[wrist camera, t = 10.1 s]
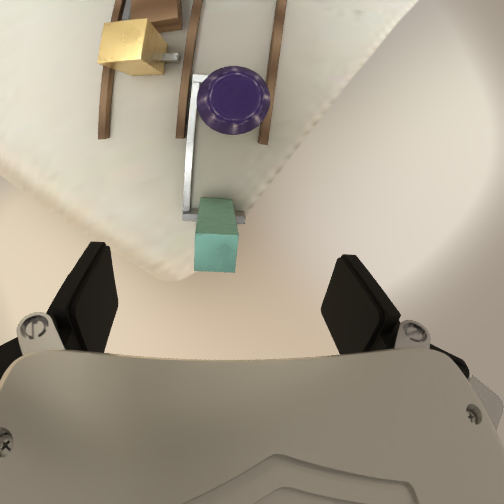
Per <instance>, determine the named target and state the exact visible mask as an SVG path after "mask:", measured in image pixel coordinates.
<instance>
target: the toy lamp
mask: <svg viewBox="0 0 504 504" xmlns="http://www.w3.org/2000/svg"><path fill="white" fill-rule="evenodd" d="M196 100H197V109H198V112H199V114H200V117H201V118H202V120H203V121H204V122H205V124H206V125H208V126H209V127H210V128H212V129H213V130H215V131H217V132H220V133H223V134H229V135H238V134H243V133H246V132H249V131H251V130H252V129H254V128H255V127H257V126H258V125H259V124H260V123H261V122H262V121H263V120H264V118H265V117H266V115H267V113H268V110H269V107H270V93H269V89H268V87H267V85H266V83H265V81H264V80H263V79H262V78H261V77H260V76H259V75H258V74H257V73H256V72H254V71H252V70H250V69H248V68H244V67H239V66H228V67H224V68H220V69H218V70H216V71H214V72H212V73H211V74H210V75H209V76H207V78H206V79H205V80H204V81H203V82H202V84H201V86H200V88H199V90H198V93H197V99H196Z"/></svg>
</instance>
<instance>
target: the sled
mask: <svg viewBox="0 0 504 504" xmlns="http://www.w3.org/2000/svg"><path fill="white" fill-rule="evenodd" d="M167 46H168V45H167V43H166V42H165V41H164V39H163V38H162V37H161V35H160V34H159V33H158V31H157V30H156V29H155V27H154V26H153V25H152V23H151V22H150V21H149V20H148V18H145V19H134V20H131V0H126V3H125V8H124V12H123V17H122V21H117V22H110V23H104V27H103V32H102V38H101V44H100V50H99V56H98V64H101V65H104V66H107V67H109V68H112V69H115V70H118V71H121V72H123V73H126V74H129V75H131V76H136V75H164V67H165V63H179V61H180V55H179V54H178V53H167Z"/></svg>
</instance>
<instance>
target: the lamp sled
mask: <svg viewBox="0 0 504 504" xmlns="http://www.w3.org/2000/svg"><path fill="white" fill-rule="evenodd" d="M207 76H209V75H199V74H193V78H192V91H191V100H190V110H189V121H188V132H187V145H186V160H185V177H184V200H183V215H182V220H184V221H197V224H196V232H195V258H194V271H212V272H235V265H236V256H237V247H238V236H239V235H238V229H237V224H236V223H240V224H245V214H244V212H241V211H234V208H233V203H232V199H217V198H200V204H199V209H190V199H191V180H192V164H193V150H194V137H195V126H196V115H197V100H196V99H197V93H198V90H199V87H200V84H202V82H203V81H204V80H205V79H206V78H207Z"/></svg>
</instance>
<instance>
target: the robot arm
mask: <svg viewBox="0 0 504 504" xmlns="http://www.w3.org/2000/svg"><path fill="white" fill-rule="evenodd" d="M117 308H118V297H117V291H116V285H115V280H114V273H113V266H112V259H111V251H110V247H109V246H106V244H105V242H90V244H89V245H88V247H87V248H86V250H85V251H84V253H83V254H82V256H81V257H80V259H79V260H78V262H77V263H76V265H75V267H74V268H73V270H72V271H71V273H70V274H69V275H68V276H67V278H66V280H65V281H64V283H63V285H62V286H61V288H60V290H59V291H58V293H57V295H56V297H55V298H54V300H53V302H52V304H51V305H50V307H49V309H48V311H47V313H42V312H35V313H31V314H29V315H27V316H25V317H24V318H23V319H22V320H21V321H20V323H19V324H18V327H17V338H15V339H13V340H11V341H9V342H7V343H5V344H3V345H1V346H0V504H504V448H503V445H502V443H501V440H500V438H499V436H498V434H497V432H496V429H497V427H498V424H499V421H500V418H501V415H502V412H503V403H502V401H501V399H500V398H499V397H498V395H496V394H495V393H494V392H493V391H492V390H490V389H489V388H488V387H487V386H485V385H484V384H483V383H482V382H480V381H479V380H478V379H477V378H476V377H474V376H473V375H472V376H471V377H469V369H468V367H467V365H466V363H465V362H464V361H463V360H462V359H460V358H458V357H456V356H454V355H452V354H450V353H448V352H446V351H444V350H442V349H440V348H438V347H435V346H434V345H432V344H430V334H429V332H428V330H427V329H426V328H425V327H424V326H423V325H421V324H420V323H418V322H416V321H413V320H405V321H403V322H401V323H400V321H399V318H400V316H401V314H400V313H399V311H398V310H397V309H396V307H395V306H394V305H393V303H392V302H391V301H390V299H389V298H388V297H387V295H386V294H385V292H384V291H383V290H382V288H381V287H380V286H379V284H378V283H377V282H376V280H375V279H374V278H373V276H372V275H371V274H370V272H369V271H368V270H367V269H366V267H365V266H364V265H363V264H362V262H361V261H360V260H359V259H358V257H357V256H356V255H346V254H344V255H342V256H341V258H338V259H337V262H336V264H335V268H334V271H333V274H332V277H331V280H330V283H329V286H328V289H327V292H326V295H325V298H324V300H323V303H322V306H321V313H322V315H323V318H324V320H325V322H326V324H327V326H328V329H329V331H330V333H331V335H332V337H333V340H334V342H335V344H336V347H337V349H338V351H339V353H340V355H331V356H320V357H306V358H291V359H268V360H267V359H266V360H193V359H170V358H154V357H141V356H130V355H119V354H109V353H104V350H105V347H106V343H107V340H108V336H109V333H110V330H111V327H112V324H113V321H114V318H115V314H116V311H117Z"/></svg>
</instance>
